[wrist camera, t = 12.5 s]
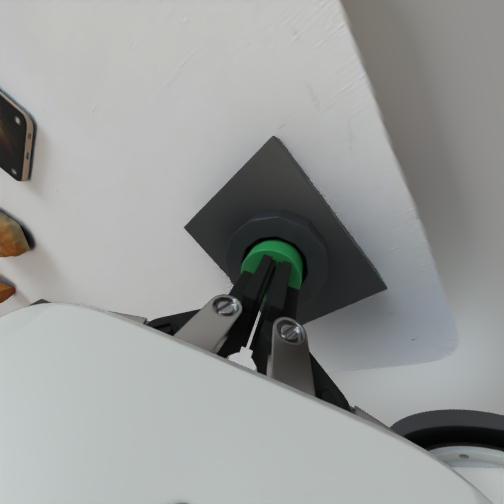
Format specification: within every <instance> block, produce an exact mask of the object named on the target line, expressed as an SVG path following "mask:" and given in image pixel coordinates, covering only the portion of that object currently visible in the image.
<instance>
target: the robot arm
mask: <svg viewBox="0 0 504 504" xmlns="http://www.w3.org/2000/svg"><path fill="white" fill-rule="evenodd" d="M275 261H276V260H273V257H272V256H269V255H266V254H264V255H263V257H262V259H261V261H260V263H259V265H258V267H257V269H256V270H255V272H254V273H251V272H248V271H245V270H244V271H243V272H242V274H241V275H240V277H239V278H238V280H237V282H236V283H235V285H234V286H233V288H232V290H231V291H230V293H229V294H228V295H225V294H224V295H218V296H215V297H214V298H212V299H211V300H210V301H209V302H208V303H207V304H206V305H205V306H204V307H203V308H202V309H199V310H194V311H189V312H185V313H180V314H175V315H171V316H166V317H161V318H157V319H154V320H152V321H147V318H144V317H139V316H133V315H128V314H122V313H117V312H111V311H107V310H103V309H99V308H96V307H92V306H86V305H80V304H71V303H44V304H37V305H31V306H28V307H24V308H21V309H18V310H16V311H13V312H10V313H8V314H5V315H3V316H1V317H0V504H504V448H501V447H497V446H493V445H487V444H481V443H472V442H448V443H440V444H436V445H432V446H429V447H426V448H424V449H423V448H421V447H419V446H418V445H416V444H414V443H412V442H411V441H409V440H407V439H406V438H404V437H403V436H401V435H400V434H398V433H397V432H395V431H394V430H392V429H390V428H389V427H387V426H386V425H384V424H383V423H381V422H380V421H378V420H377V419H375V418H373V417H372V416H371V415H369V414H368V413H366V412H364V411H363V410H361V409H360V408H358V407H357V406H355V407H354V408H353V407H351V406H350V405H349V403H348V401H347V400H346V398H345V397H344V395H343V394H342V392H340V390H339V389H338V387H337V386H336V385H335V384H334V382H333V381H332V380H331V378H330V377H329V376H328V375H327V373H326V372H325V371H324V369H323V368H322V367H321V366H320V364H319V363H318V362H317V361H316V359H315V358H314V357H313V355H312V354H311V353H310V352H309V347H308V340H307V334H306V331H305V329H304V328H303V326H302V325H301V324H300V323H299V322H297V321H296V314H297V304H298V295H299V289H296V288H293V287H290V286H288V282H289V277H290V272H291V267H292V263H289V262H286V261H283V262H278V265H277V268H276V271H275V274H274V277H273V280H272V283H271V286H270V289H269V292H268V295H267V298H266V301H265V304H264V307H263V309H262V312H261V315H260V318H259V321H258V324H257V327H256V330H255V333H254V336H253V339H252V342H251V345H250V348H249V349H250V350H253V353H252V356H251V358H252V359H253V361H254V363H255V365H256V369H255V371H254V370H251V369H249V368H247V367H244V366H242V365H239V364H237V363H235V362H232V361H230V360H228V359H229V357H230V355H231V354H234V353H237V352H238V353H239V352H240V349H241V347H242V346H243V347H245V348H246V345H247V343H248V340H249V337H250V334H251V331H252V329H253V326H254V323H255V320H256V318H257V315H258V312H259V309H260V306H261V304H262V301H263V298H264V295H265V292H266V289H267V286H268V283H269V280H270V277H271V274H272V271H273V267H274V264H275Z"/></svg>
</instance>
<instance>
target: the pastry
mask: <svg viewBox="0 0 504 504" xmlns="http://www.w3.org/2000/svg"><path fill="white" fill-rule="evenodd" d="M29 250H30V247H29V246H28V243H27V240H26V238H25V236H24V234H23V231H22V229H21V227H20V226H19V224H18V223H16V221H15V220H14V219H11V218H9V217H8V216H7V215H5V213H4V212H2V211H0V257H8V256H19V255H21V254H23V253H25V252H27V251H29Z"/></svg>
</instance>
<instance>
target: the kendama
mask: <svg viewBox="0 0 504 504" xmlns="http://www.w3.org/2000/svg"><path fill="white" fill-rule="evenodd" d="M14 292H15V289H14V288H13V287H10V286H8V285H6V284H4V283H2V282H0V303H2V302H4V301H5V300H7V299H8V298H9V297H10V296H12V295H13V293H14Z"/></svg>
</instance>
